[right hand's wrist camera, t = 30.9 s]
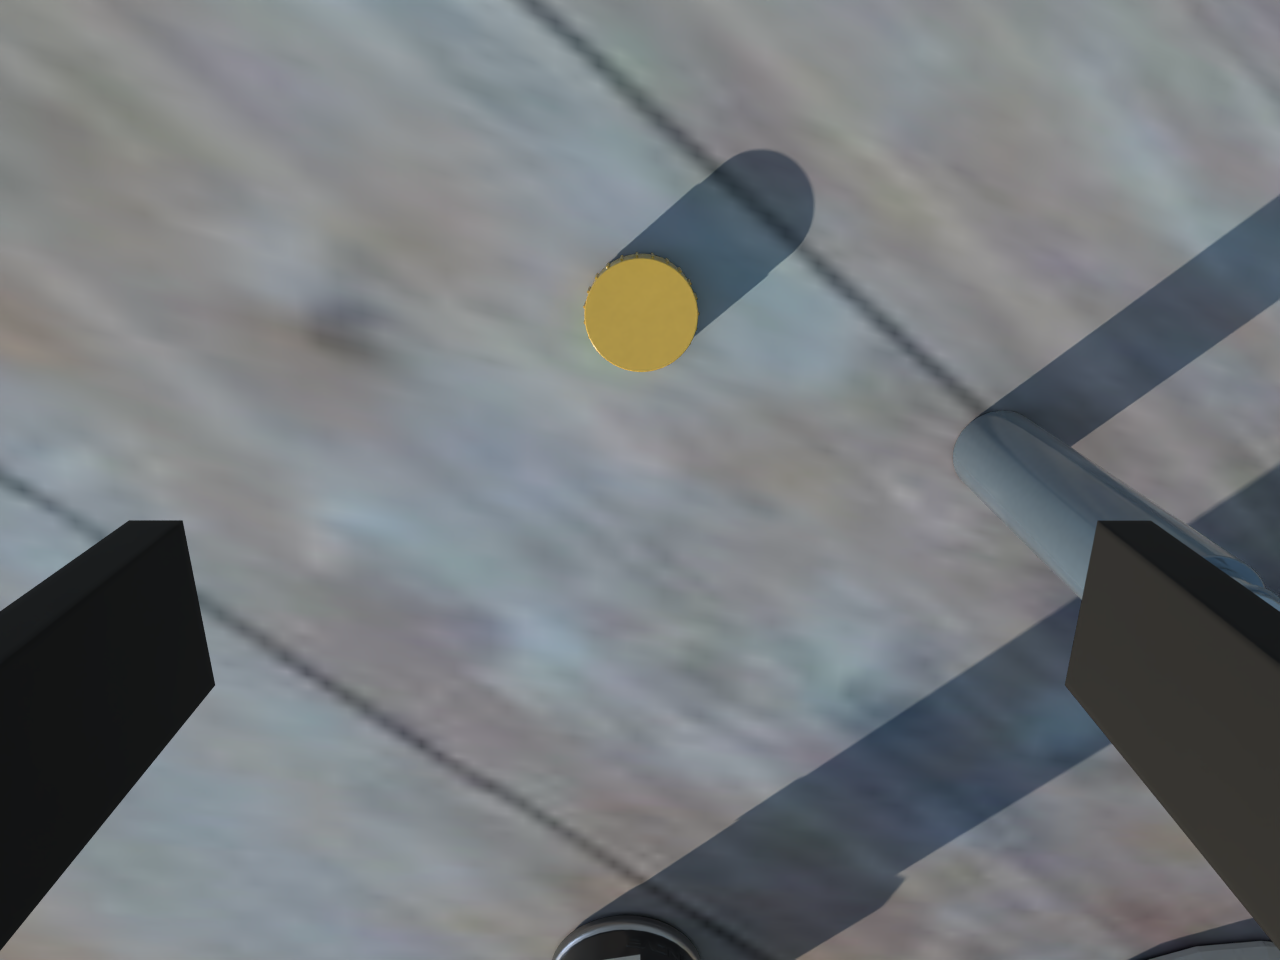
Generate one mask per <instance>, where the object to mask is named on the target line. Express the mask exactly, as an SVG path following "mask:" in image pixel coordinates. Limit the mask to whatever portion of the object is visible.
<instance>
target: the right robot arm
mask: <svg viewBox="0 0 1280 960" xmlns="http://www.w3.org/2000/svg"><path fill="white" fill-rule="evenodd" d="M214 686H215V682H214V677H213V672H212V667H211V662H210V657H209V652H208V647H207V642H206V637H205V632H204V626H203V621H202V616H201V611H200V606H199V601H198V596H197V591H196V586H195V581H194V576H193V571H192V566H191V561H190V556H189V551H188V546H187V541H186V536H185V531H184V526H183V521H128V522H126V523H125V524H124V525H122V526H121V527H119V528H118V529H116V530H115V531H114V532H112V533H111V534H109V535H108V536H107V537H105V538H104V539H102V540H101V541H99V542H98V543H97V544H95V545H94V546H92V547H91V548H89V549H88V550H87V551H85V552H84V553H82V554H81V555H80V556H78V557H77V558H75V559H74V560H72V561H71V562H70V563H68V564H67V565H65V566H64V567H63V568H61V569H60V570H58V571H57V572H55V573H54V574H53V575H51V576H50V577H48V578H47V579H46V580H44V581H43V582H41V583H40V584H38V585H37V586H36V587H34V588H33V589H31V590H30V591H29V592H27V593H26V594H24V595H23V596H21V597H20V598H19V599H17V600H16V601H14V602H13V603H12V604H10V605H9V606H7V607H6V608H4V609H3V610H2V611H0V950H1V949H2V948H3V947H4V945H5V944H6V943H7V942H8V940H9V939H10V938H11V937H12V935H13V934H14V933H15V932H16V931H17V929H18V928H19V927H20V926H21V924H22V923H23V922H24V921H25V919H26V918H27V917H28V916H29V914H30V913H31V912H32V911H33V910H34V908H35V907H36V906H37V905H38V903H39V902H40V901H41V900H42V898H43V897H44V896H45V895H46V893H47V892H48V891H49V890H50V889H51V887H52V886H53V885H54V884H55V882H56V881H57V880H58V879H59V877H60V876H61V875H62V874H63V872H64V871H65V870H66V869H67V868H68V866H69V865H70V864H71V863H72V861H73V860H74V859H75V858H76V856H77V855H78V854H79V853H80V851H81V850H82V849H83V848H84V847H85V845H86V844H87V843H88V842H89V840H90V839H91V838H92V837H93V835H94V834H95V833H96V832H97V830H98V829H99V828H100V827H101V826H102V824H103V823H104V822H105V821H106V819H107V818H108V817H109V816H110V814H111V813H112V812H113V811H114V809H115V808H116V807H117V806H118V805H119V803H120V802H121V801H122V800H123V798H124V797H125V796H126V795H127V793H128V792H129V791H130V790H131V788H132V787H133V786H134V785H135V784H136V782H137V781H138V780H139V779H140V777H141V776H142V775H143V774H144V772H145V771H146V770H147V769H148V767H149V766H150V765H151V764H152V762H153V761H154V760H155V759H156V758H157V756H158V755H159V754H160V753H161V751H162V750H163V749H164V748H165V746H166V745H167V744H168V743H169V741H170V740H171V739H172V738H173V737H174V735H175V734H176V733H177V732H178V730H179V729H180V728H181V727H182V725H183V724H184V723H185V722H186V720H187V719H188V718H189V717H190V716H191V714H192V713H193V712H194V711H195V709H196V708H197V707H198V706H199V704H200V703H201V702H202V701H203V699H204V698H205V697H206V696H207V695H208V693H209V692H210V691H211V690H212V688H213V687H214ZM1065 686H1066V687H1067V688H1068V690H1069V691H1070V692H1071V693H1072V695H1073V696H1074V697H1075V698H1076V699H1077V701H1078V702H1079V703H1080V704H1081V706H1082V707H1083V708H1084V709H1085V711H1086V712H1087V713H1088V714H1089V716H1090V717H1091V718H1092V719H1093V720H1094V722H1095V723H1096V724H1097V725H1098V727H1099V728H1100V729H1101V730H1102V732H1103V733H1104V734H1105V735H1106V737H1107V738H1108V739H1109V740H1110V741H1111V743H1112V744H1113V745H1114V746H1115V748H1116V749H1117V750H1118V751H1119V753H1120V754H1121V755H1122V756H1123V758H1124V759H1125V760H1126V761H1127V762H1128V764H1129V765H1130V766H1131V767H1132V769H1133V770H1134V771H1135V772H1136V774H1137V775H1138V776H1139V777H1140V779H1141V780H1142V781H1143V782H1144V784H1145V785H1146V786H1147V787H1148V788H1149V790H1150V791H1151V792H1152V793H1153V795H1154V796H1155V797H1156V798H1157V800H1158V801H1159V802H1160V803H1161V805H1162V806H1163V807H1164V808H1165V809H1166V811H1167V812H1168V813H1169V814H1170V816H1171V817H1172V818H1173V819H1174V821H1175V822H1176V823H1177V824H1178V826H1179V827H1180V828H1181V829H1182V830H1183V832H1184V833H1185V834H1186V835H1187V837H1188V838H1189V839H1190V840H1191V842H1192V843H1193V844H1194V845H1195V847H1196V848H1197V849H1198V850H1199V851H1200V853H1201V854H1202V855H1203V856H1204V858H1205V859H1206V860H1207V861H1208V863H1209V864H1210V865H1211V866H1212V868H1213V869H1214V870H1215V871H1216V872H1217V874H1218V875H1219V876H1220V877H1221V879H1222V880H1223V881H1224V882H1225V884H1226V885H1227V886H1228V887H1229V889H1230V890H1231V891H1232V892H1233V893H1234V895H1235V896H1236V897H1237V898H1238V900H1239V901H1240V902H1241V903H1242V905H1243V906H1244V907H1245V908H1246V910H1247V911H1248V912H1249V913H1250V914H1251V916H1252V917H1253V918H1254V919H1255V921H1256V922H1257V923H1258V924H1259V926H1260V927H1261V928H1262V929H1263V931H1264V932H1265V933H1266V934H1267V935H1268V937H1269V938H1270V939H1271V940H1272V942H1273V943H1274V944H1275V945H1276V947H1277V948H1278V949H1279V950H1280V611H1278V610H1277V609H1276V608H1274V607H1273V606H1271V605H1270V604H1268V603H1267V602H1266V601H1264V600H1263V599H1261V598H1260V597H1259V596H1257V595H1256V594H1254V593H1253V592H1251V591H1250V590H1249V589H1247V588H1246V587H1244V586H1243V585H1242V584H1240V583H1239V582H1237V581H1236V580H1234V579H1233V578H1232V577H1230V576H1229V575H1227V574H1226V573H1225V572H1223V571H1222V570H1220V569H1219V568H1217V567H1216V566H1215V565H1213V564H1212V563H1210V562H1209V561H1208V560H1206V559H1205V558H1203V557H1202V556H1200V555H1199V554H1198V553H1196V552H1195V551H1193V550H1192V549H1191V548H1189V547H1188V546H1186V545H1185V544H1183V543H1182V542H1181V541H1179V540H1178V539H1176V538H1175V537H1173V536H1172V535H1171V534H1169V533H1168V532H1166V531H1165V530H1164V529H1162V528H1161V527H1159V526H1158V525H1156V524H1155V523H1154V522H1152V521H1097V526H1096V531H1095V536H1094V541H1093V546H1092V551H1091V556H1090V561H1089V566H1088V571H1087V576H1086V581H1085V586H1084V591H1083V596H1082V601H1081V606H1080V611H1079V616H1078V621H1077V626H1076V632H1075V637H1074V642H1073V647H1072V652H1071V657H1070V662H1069V667H1068V672H1067V677H1066V682H1065Z"/></svg>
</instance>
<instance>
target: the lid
mask: <svg viewBox="0 0 1280 960" xmlns="http://www.w3.org/2000/svg"><path fill="white" fill-rule="evenodd" d="M691 285H692V284H691V281H690V279H687V278H686V276H685V275H684V274H683V273H682V270H681V268H680V267H678V268H677V267H676V266H675V265H674V264H672V263H671V262H670V261H669V260H668V258H666V259H664V258H662V257H659V256H656V255H654V253H651V254H643V253H641V254H638V252H636V254H631V255H627V256H624V257H623V255H621V256H620V258H619V259H617V260H615V261H613V262H612V263H609V262H608V263H607V265H606V267H605V268H604V269H603V270H602V271H601V272H600V273H599V274H598V273H597V274H596V276H595V280H594V282H593V284H592V286H591V287H590V286H589V289H588V291H587V293H589V294H588V297H587V300H586V301H585V304H584V308H585V320H584V324H585V325H586V330H587V333H588V337H589V339H590V340H591V342H592V344H593V345H594V347H595V348H596V350H597V351H598V352H599V353H600V354H601V355H602V356H603V357H604V358H605V359H606V360H607V361H609V362H610V363H612V364H613V365H615V366H617V367H620V368H622V369H625V370H629V371H636V372H648V371H653V370H657V369H660V368H663V367H665V366H667V365H669V364H671V363H672V362H674V361H675V360H676V359H678V358H679V357H680V356H681V355H682V354H683V353H684V352H685V351H686V349H687V348H688V346H689V345H690V344H691V341H692V339H693V337H694V335H695V332H696V331H697V323H698V315H699V311H698V307H697V301H696V300H697V296H696V293H694V292H693V290H692V287H691Z"/></svg>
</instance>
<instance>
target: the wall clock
mask: <svg viewBox="0 0 1280 960" xmlns="http://www.w3.org/2000/svg"><path fill="white" fill-rule="evenodd" d="M1149 960H1280V950H1279V949H1278V948H1277V947H1276V945H1275V944H1274V943H1273V942H1268V941H1254V942H1242V943H1230V944H1219V945H1207V946H1196V947H1192V948H1189V949H1185V950H1181V951H1178V952H1174V953H1171V954H1167V955H1163V956H1160V957H1156V958H1152V959H1149Z"/></svg>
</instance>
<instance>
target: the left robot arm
mask: <svg viewBox="0 0 1280 960" xmlns="http://www.w3.org/2000/svg"><path fill="white" fill-rule="evenodd" d="M552 960H701V958H700V956H699V953H698V951H697V950H696V948H695V946H694V945H693V944H692V942H691V941H690V940H689V939H688V938H687V937H686V936H685V935H684V934H682V933H681V932H680V931H678V930H677V929H675V928H674V927H672V926H670V925H668V924H666V923H664V922H661V921H658V920H655V919H651V918H647V917H642V916H631V915H621V916H611V917H606V918H601V919H598V920H595V921H592V922H589V923H587V924H585V925H583V926H581V927H579V928H577V929H576V930H575V931H573V932H572V933H570V934H569V935H568V936H567V937H566V938H565V939H564V940H563V941H562V942H561V944H560V945H559V946H558V948H557V950H556V951H555V954H554V956H553V959H552Z"/></svg>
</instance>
